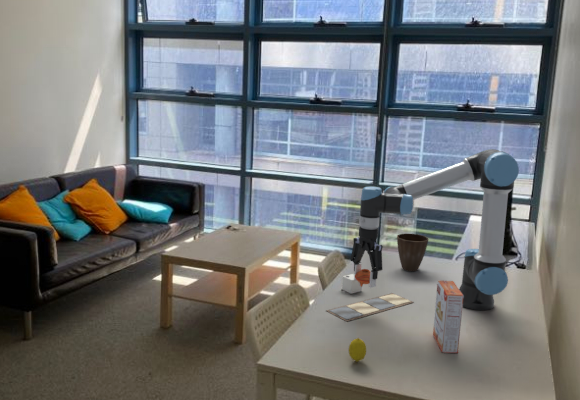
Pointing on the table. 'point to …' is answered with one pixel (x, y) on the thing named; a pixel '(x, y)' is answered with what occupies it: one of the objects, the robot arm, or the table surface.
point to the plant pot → (411, 250)
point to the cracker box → (448, 316)
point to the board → (369, 307)
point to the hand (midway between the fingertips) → (364, 283)
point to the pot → (363, 276)
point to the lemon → (357, 349)
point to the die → (350, 284)
